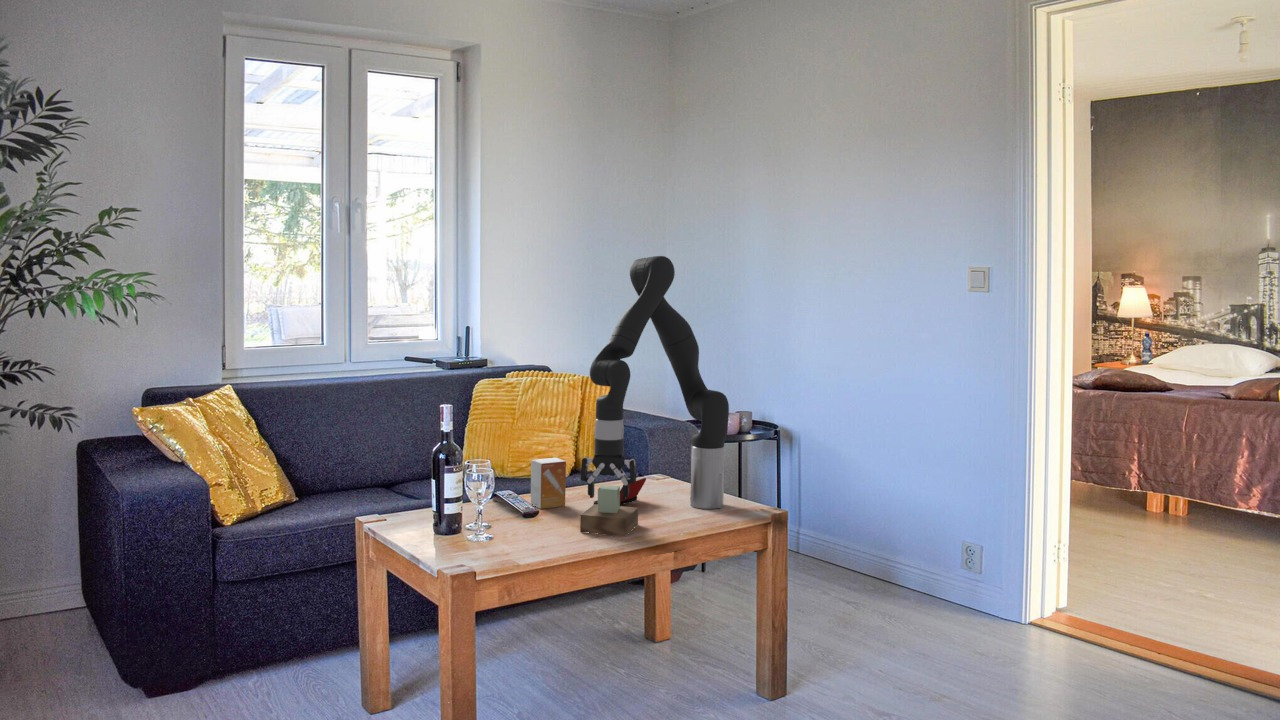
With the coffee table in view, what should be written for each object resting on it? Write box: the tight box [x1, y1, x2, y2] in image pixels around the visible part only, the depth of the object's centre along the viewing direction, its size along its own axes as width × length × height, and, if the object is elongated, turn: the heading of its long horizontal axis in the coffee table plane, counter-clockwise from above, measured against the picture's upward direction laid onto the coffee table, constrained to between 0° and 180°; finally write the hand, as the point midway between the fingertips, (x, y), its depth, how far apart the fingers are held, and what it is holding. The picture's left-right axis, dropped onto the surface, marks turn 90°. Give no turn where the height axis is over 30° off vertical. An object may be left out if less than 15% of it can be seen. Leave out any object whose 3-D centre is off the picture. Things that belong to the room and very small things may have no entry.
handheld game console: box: [593, 477, 647, 506], centre depth 286 cm, size 12×11×7 cm
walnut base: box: [579, 503, 639, 537], centre depth 258 cm, size 12×12×5 cm
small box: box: [530, 456, 567, 510], centre depth 281 cm, size 8×6×13 cm
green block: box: [597, 484, 621, 513], centre depth 258 cm, size 5×5×6 cm
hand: (608, 498), depth 258 cm, fingers open, 8 cm apart
